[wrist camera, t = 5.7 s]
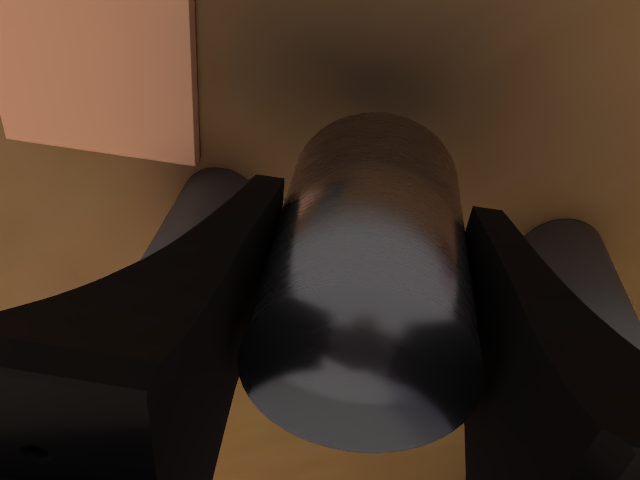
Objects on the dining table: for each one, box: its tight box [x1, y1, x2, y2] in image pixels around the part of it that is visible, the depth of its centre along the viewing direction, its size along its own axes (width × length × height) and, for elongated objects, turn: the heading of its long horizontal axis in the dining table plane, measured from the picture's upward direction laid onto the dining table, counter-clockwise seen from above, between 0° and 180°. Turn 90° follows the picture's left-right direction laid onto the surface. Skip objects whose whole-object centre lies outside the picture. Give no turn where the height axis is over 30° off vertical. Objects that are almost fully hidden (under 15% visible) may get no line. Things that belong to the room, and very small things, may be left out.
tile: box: [0, 0, 200, 166], centre depth 19 cm, size 7×7×1 cm
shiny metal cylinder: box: [238, 112, 484, 453], centre depth 12 cm, size 4×4×6 cm
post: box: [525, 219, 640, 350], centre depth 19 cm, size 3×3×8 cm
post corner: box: [141, 168, 248, 260], centre depth 19 cm, size 3×3×8 cm
